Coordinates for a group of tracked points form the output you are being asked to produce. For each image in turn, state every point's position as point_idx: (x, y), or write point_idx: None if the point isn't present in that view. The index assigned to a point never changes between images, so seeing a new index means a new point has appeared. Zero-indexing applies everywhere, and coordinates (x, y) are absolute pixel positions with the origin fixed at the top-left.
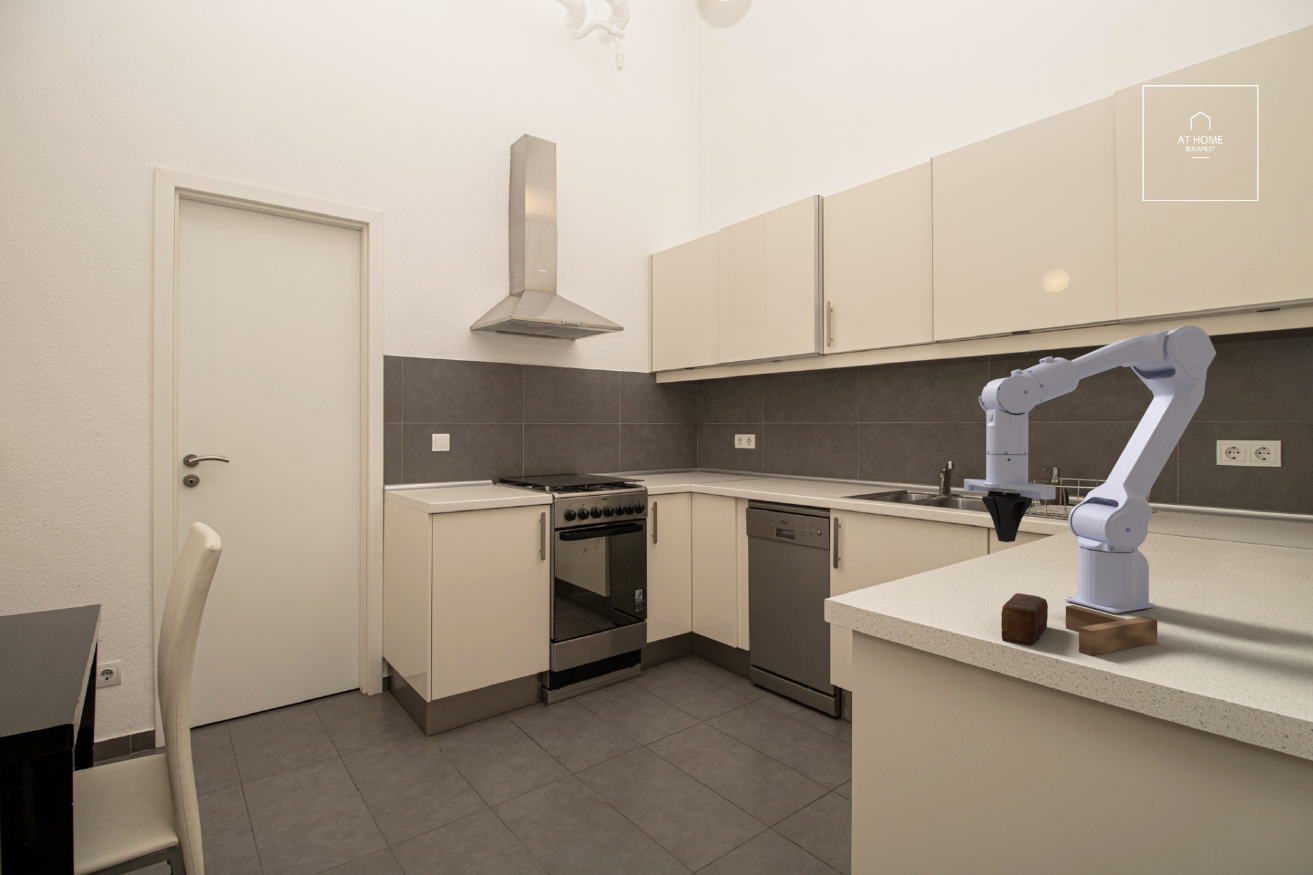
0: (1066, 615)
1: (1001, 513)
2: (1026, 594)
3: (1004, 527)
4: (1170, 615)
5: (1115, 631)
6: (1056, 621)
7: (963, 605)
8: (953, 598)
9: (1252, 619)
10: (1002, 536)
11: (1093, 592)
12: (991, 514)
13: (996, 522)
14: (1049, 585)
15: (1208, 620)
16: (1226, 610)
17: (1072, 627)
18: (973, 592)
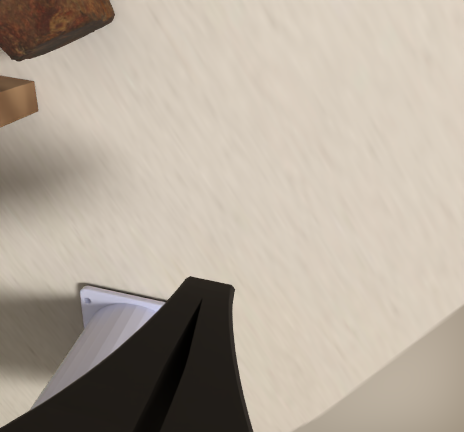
0: (9, 89)
1: (115, 401)
2: (21, 5)
3: (150, 322)
4: (53, 345)
5: None
6: (85, 123)
7: (323, 35)
8: (397, 93)
9: (8, 397)
10: (191, 290)
11: (118, 323)
12: (230, 410)
13: (203, 354)
14: (297, 405)
15: (16, 355)
16: None
17: (12, 79)
18: (389, 220)
